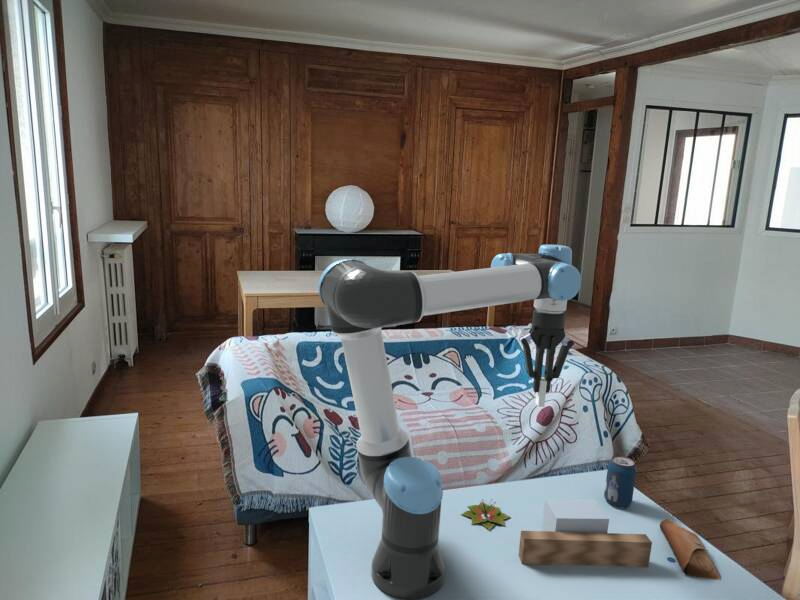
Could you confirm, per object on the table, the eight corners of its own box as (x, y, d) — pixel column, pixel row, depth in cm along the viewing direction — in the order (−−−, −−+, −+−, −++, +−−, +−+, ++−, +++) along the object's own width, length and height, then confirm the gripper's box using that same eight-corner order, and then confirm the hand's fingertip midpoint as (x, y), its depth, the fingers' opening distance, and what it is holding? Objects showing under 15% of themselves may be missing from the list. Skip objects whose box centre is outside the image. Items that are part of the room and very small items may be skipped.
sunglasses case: (725, 581, 122) (712, 554, 121) (692, 592, 123) (679, 566, 123) (694, 532, 139) (683, 509, 139) (666, 542, 141) (655, 519, 140)
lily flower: (451, 516, 142) (452, 499, 141) (481, 499, 150) (482, 483, 149) (490, 538, 134) (492, 521, 133) (519, 520, 142) (521, 503, 141)
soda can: (630, 499, 154) (636, 457, 152) (632, 512, 147) (638, 469, 145) (603, 493, 156) (608, 452, 154) (603, 506, 149) (609, 463, 147)
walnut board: (521, 563, 124) (524, 538, 123) (518, 555, 127) (521, 530, 126) (648, 567, 125) (652, 542, 124) (642, 558, 128) (645, 534, 127)
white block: (552, 554, 128) (556, 518, 126) (541, 533, 136) (545, 499, 134) (604, 555, 129) (609, 518, 127) (590, 534, 137) (594, 499, 135)
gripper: (526, 312, 132) (516, 409, 136) (582, 315, 132) (570, 411, 137) (518, 305, 139) (510, 397, 144) (571, 308, 140) (561, 400, 144)
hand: (539, 404), depth 140 cm, fingers closed
